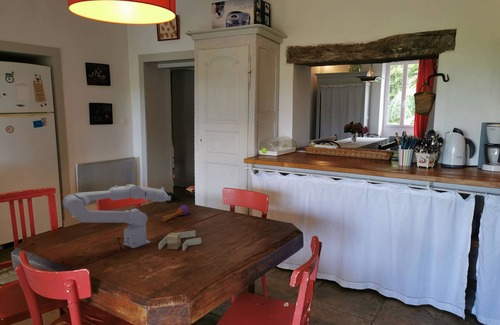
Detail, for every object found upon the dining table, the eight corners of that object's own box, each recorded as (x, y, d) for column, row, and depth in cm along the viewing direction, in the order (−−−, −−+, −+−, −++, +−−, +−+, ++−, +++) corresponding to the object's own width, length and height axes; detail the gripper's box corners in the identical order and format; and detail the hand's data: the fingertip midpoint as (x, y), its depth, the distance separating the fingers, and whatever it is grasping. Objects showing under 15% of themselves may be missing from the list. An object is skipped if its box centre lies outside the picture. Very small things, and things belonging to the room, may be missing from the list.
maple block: (177, 249, 161) (176, 236, 160) (167, 249, 162) (167, 236, 161) (180, 245, 165) (180, 233, 164) (171, 245, 166) (170, 232, 165)
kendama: (158, 214, 202) (182, 203, 218) (160, 224, 202) (184, 213, 219) (165, 214, 198) (190, 203, 215) (168, 224, 199) (192, 213, 216)
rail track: (174, 255, 155) (173, 248, 154) (149, 246, 165) (149, 240, 164) (210, 240, 172) (210, 234, 172) (186, 233, 182) (185, 227, 182)
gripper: (160, 187, 164) (186, 192, 173) (147, 183, 176) (172, 188, 184) (156, 203, 164) (183, 206, 172) (144, 198, 175) (169, 201, 184)
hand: (177, 198), depth 178 cm, fingers open, 7 cm apart
